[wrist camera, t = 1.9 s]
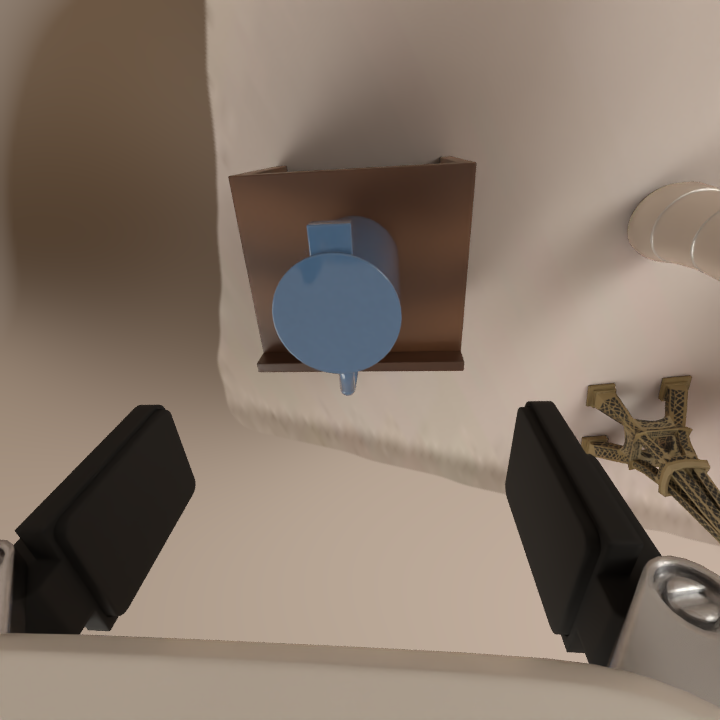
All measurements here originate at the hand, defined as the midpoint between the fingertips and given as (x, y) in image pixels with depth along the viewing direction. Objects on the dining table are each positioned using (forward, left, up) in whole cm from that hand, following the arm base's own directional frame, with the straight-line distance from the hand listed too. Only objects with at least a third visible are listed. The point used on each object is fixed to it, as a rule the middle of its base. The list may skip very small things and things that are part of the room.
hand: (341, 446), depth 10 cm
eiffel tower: (+23, +30, -32) cm, 49 cm away
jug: (0, -1, -19) cm, 19 cm away
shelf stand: (+1, -1, -31) cm, 31 cm away
